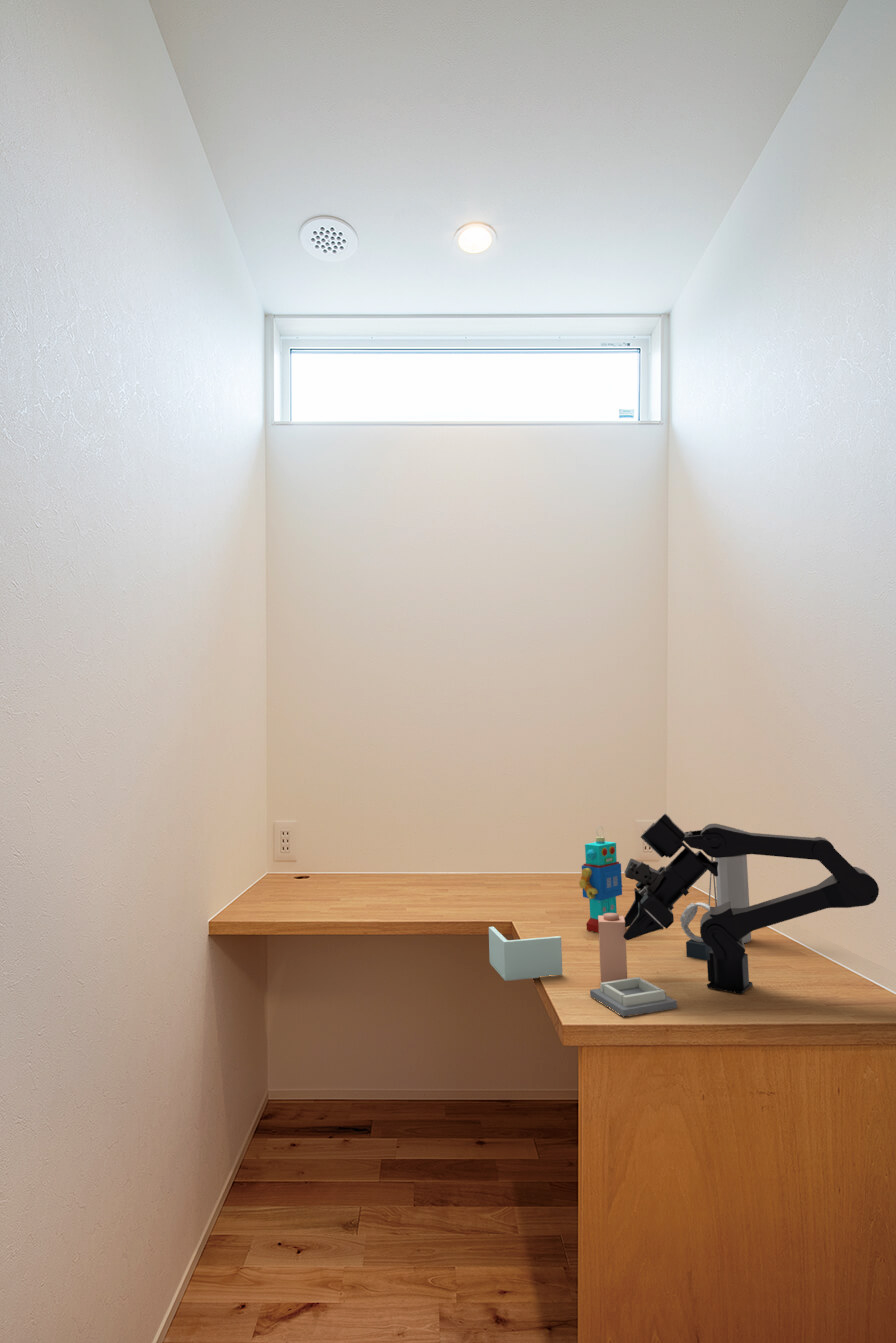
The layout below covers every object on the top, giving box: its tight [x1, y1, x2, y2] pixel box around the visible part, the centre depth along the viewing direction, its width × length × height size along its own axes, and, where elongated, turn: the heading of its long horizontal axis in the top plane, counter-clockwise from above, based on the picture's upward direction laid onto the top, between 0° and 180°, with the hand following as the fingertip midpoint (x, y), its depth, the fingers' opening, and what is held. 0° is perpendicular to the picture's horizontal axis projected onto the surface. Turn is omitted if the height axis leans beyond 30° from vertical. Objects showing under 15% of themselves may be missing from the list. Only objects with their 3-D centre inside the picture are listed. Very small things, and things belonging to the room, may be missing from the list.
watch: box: [679, 901, 712, 961], centre depth 162 cm, size 6×8×11 cm
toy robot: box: [578, 825, 624, 934], centre depth 186 cm, size 12×6×25 cm, turn 131°
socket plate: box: [589, 976, 678, 1017], centre depth 136 cm, size 11×11×3 cm
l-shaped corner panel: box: [488, 926, 563, 982], centre depth 156 cm, size 12×12×8 cm
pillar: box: [598, 913, 628, 983], centre depth 147 cm, size 5×5×13 cm
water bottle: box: [707, 828, 752, 944], centre depth 174 cm, size 9×8×25 cm
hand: (623, 931), depth 147 cm, fingers open, 9 cm apart
